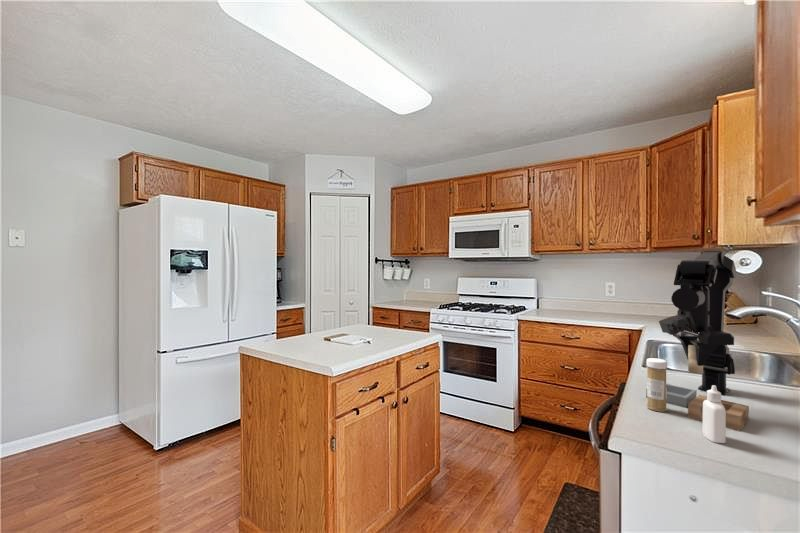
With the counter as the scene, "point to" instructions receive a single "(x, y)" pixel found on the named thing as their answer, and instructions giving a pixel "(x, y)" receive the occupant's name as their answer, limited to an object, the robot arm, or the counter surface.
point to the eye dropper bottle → (714, 417)
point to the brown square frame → (734, 411)
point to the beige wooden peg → (693, 361)
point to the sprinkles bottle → (656, 384)
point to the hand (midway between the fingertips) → (695, 363)
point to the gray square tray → (679, 395)
